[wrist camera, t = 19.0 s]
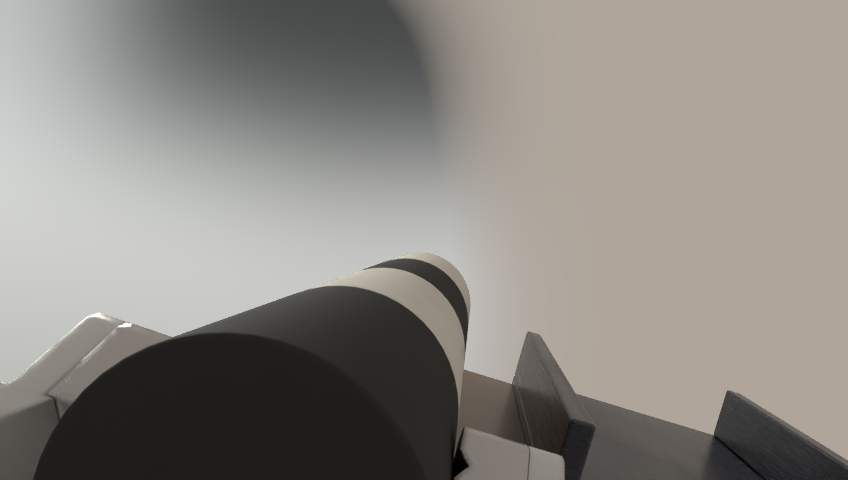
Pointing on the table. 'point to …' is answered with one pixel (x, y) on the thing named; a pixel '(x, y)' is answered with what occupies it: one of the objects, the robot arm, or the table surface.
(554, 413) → the tray
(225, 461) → the roll
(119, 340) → the robot arm
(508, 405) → the shelf
